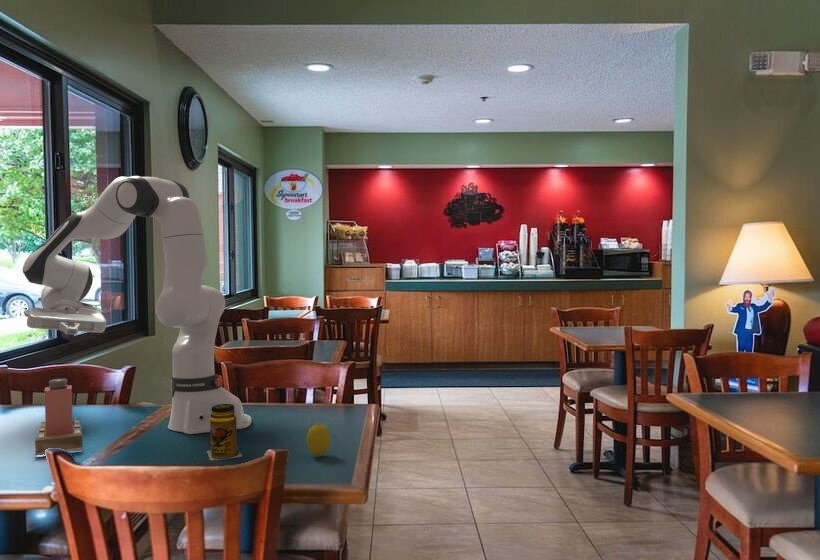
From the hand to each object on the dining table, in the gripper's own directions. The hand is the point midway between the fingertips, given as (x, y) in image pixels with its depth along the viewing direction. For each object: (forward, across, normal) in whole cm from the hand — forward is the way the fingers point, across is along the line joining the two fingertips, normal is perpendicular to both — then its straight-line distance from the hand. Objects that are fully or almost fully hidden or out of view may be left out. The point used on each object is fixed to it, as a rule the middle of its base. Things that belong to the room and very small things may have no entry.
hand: (71, 332), depth 189 cm
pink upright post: (+23, -3, +19) cm, 31 cm away
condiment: (+56, +25, +5) cm, 62 cm away
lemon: (+71, +41, -3) cm, 82 cm away
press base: (+23, -2, +21) cm, 31 cm away
